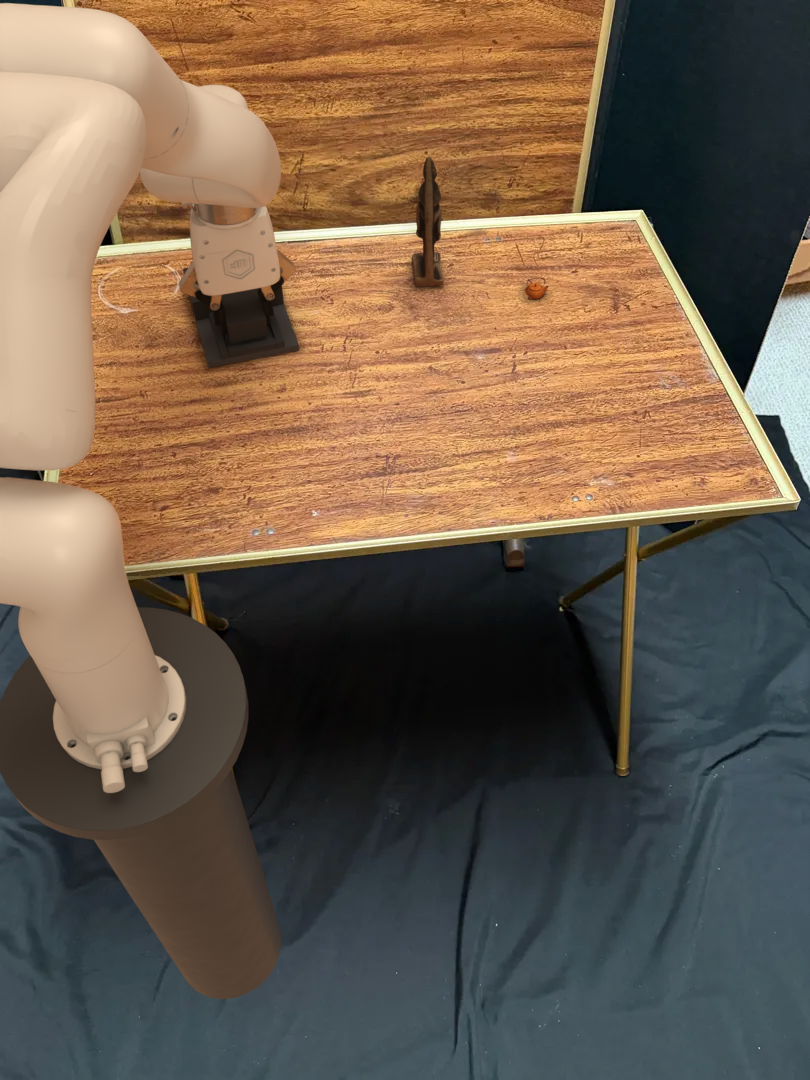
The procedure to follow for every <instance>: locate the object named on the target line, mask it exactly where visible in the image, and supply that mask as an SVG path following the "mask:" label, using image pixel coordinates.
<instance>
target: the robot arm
mask: <svg viewBox="0 0 810 1080" xmlns="http://www.w3.org/2000/svg"><path fill="white" fill-rule="evenodd" d="M281 164H282V163H281V157H280V152H279V149H278V147H277V143H276V141H275V139H274V137H273V135H272V133H271V132H270V130H269V128H268V127H267V125H266V124H265V122H264V121H263V120H262V119H261V118H260V117H259V116H258V115H257V114H256V113H255V112H253V111H251V110H250V109H249V106H248V102H247V100H246V99H245V97H244V96H243V95H242V94H241V93H240V92H239V91H238V90H236V89H234V88H233V87H230V86H228V85H222V84H206V85H199V86H198V85H196V84H192V83H190V82H187V81H184V80H182V79H180V77H179V76H178V75H177V74H176V73H175V71H174V70H173V68H172V67H171V66H170V65H169V64H168V63H167V62H166V60H165V59H164V58H163V57H162V55H161V54H160V53H159V52H158V50H157V49H156V48H155V47H154V46H153V44H152V43H151V42H150V41H149V39H148V38H147V37H146V36H145V35H144V34H143V33H142V31H141V30H139V29H138V28H137V26H135V25H134V24H133V23H132V22H131V21H129V20H127V18H124V17H123V16H120V15H118V14H116V13H114V12H110V11H105V10H101V9H96V8H88V7H72V6H57V5H44V4H43V5H41V4H27V3H11V2H3V3H2V2H0V469H7V470H8V469H11V470H22V471H23V470H24V471H60V470H64V469H65V470H66V469H69V468H71V467H73V466H76V465H78V464H80V463H81V462H82V460H84V459H85V458H86V457H87V456H88V455H89V453H90V451H91V449H92V446H93V443H94V437H95V431H96V422H97V421H96V420H97V414H96V412H97V407H96V406H97V403H96V402H97V399H96V379H95V358H94V339H93V336H94V335H93V319H92V278H93V272H94V268H95V263H96V259H97V257H98V253H99V251H100V248H101V245H102V243H103V240H104V238H105V236H106V234H107V232H108V230H109V228H110V226H111V224H112V222H113V221H114V219H115V217H116V215H117V213H118V211H119V209H120V208H121V207H122V205H123V203H124V201H125V199H126V198H127V196H128V195H129V193H130V191H131V190H132V188H133V187H134V185H135V183H136V181H137V179H138V177H139V176H140V180H141V182H142V185H143V187H144V188H145V190H146V191H147V192H148V193H149V194H150V195H151V196H153V197H155V198H156V199H159V200H163V201H166V202H170V203H171V202H172V203H180V205H181V209H182V210H186V209H188V210H190V215H189V240H190V248H191V249H190V250H191V257H192V261H191V263H190V264H189V266H188V267H187V268H188V269H187V271H186V272H185V274H184V273H183V275H182V276H181V278H180V280H179V282H178V287H179V290H180V292H181V293H182V294H185V295H187V296H188V295H190V296H192V297H193V296H194V297H196V299H198V300H199V301H201V302H203V303H205V304H207V305H208V306H210V308H211V309H212V313H213V318H214V323H215V326H219V325H220V326H221V329H222V333H223V334H227V333H228V332H227V326H226V320H225V318H226V315H225V310H224V306H223V303H222V300H221V297H222V295H223V294H229V293H235V292H240V291H246V290H251V289H257V288H259V290H258V298H259V300H260V303H261V306H262V309H263V311H264V314H265V316H266V321H267V326H271V325H270V316H272V315H274V312H273V303H272V299H274V296H275V295H274V294H275V293H276V292H277V290H278V289H279V288H280V287H281V286H282V287H283V285H284V284H285V281H287V280H288V279H289V278H290V277H291V276H293V275H294V274H295V272H296V271H297V267H296V265H295V262H293V261H292V259H290V258H289V257H287V256H286V255H285V254H284V253H283V252H282V251H280V250H279V249H278V247H277V242H276V237H275V231H274V228H273V223H272V220H271V216H270V213H269V209H268V207H267V205H269V204H271V203H272V201H273V200H274V199H275V197H276V196H277V194H278V191H279V188H280V185H281V178H282V165H281ZM196 280H197V282H198V285H196V284H195V282H196ZM122 530H123V529H122V523H121V521H120V517H119V514H118V511H117V510H116V509H115V507H114V505H113V504H112V503H111V502H110V501H109V500H108V499H106V497H104V496H102V495H101V494H99V493H97V492H95V491H93V490H90V489H88V488H84V487H81V486H78V485H73V484H68V483H63V482H55V481H47V480H39V479H29V478H20V477H11V476H10V477H9V476H5V477H3V476H2V477H1V476H0V605H1V604H2V605H10V606H16V607H19V612H18V617H17V618H18V619H17V623H18V625H17V626H18V632H19V635H20V638H21V641H22V643H23V645H24V647H25V648H26V651H27V652H28V654H29V656H30V655H31V657H32V658H33V660H34V662H35V664H36V665H37V667H38V669H39V671H40V672H41V674H42V676H43V678H44V679H45V681H46V683H47V685H48V687H49V688H50V690H51V692H52V694H53V695H54V697H55V699H56V702H55V705H54V712H53V724H54V730H55V733H56V736H57V739H58V740H59V742H60V744H61V745H62V747H63V748H64V750H65V751H66V752H67V753H68V754H69V755H70V756H71V757H72V758H74V759H75V760H76V761H78V762H79V763H82V764H84V765H86V766H88V767H92V768H96V769H101V770H102V771H101V778H102V785H103V790H104V792H106V793H115V792H119V791H121V790H122V789H124V788H125V782H124V775H123V769H124V768H129V767H132V769H133V771H134V772H142V771H145V770H146V769H147V768H148V764H147V760H149V759H151V758H152V757H154V756H155V755H156V754H158V753H159V752H161V751H162V750H163V749H164V748H165V747H166V746H167V745H168V744H169V743H170V742H171V741H172V739H173V738H174V736H175V735H176V734H177V732H178V731H179V728H180V726H181V724H182V722H183V719H184V715H185V711H186V694H185V689H184V686H183V684H182V681H181V678H180V677H179V675H178V673H177V672H176V670H175V669H174V668H173V667H172V666H171V665H170V664H169V663H168V662H166V661H165V660H163V659H162V658H160V657H158V656H156V655H154V652H153V649H152V646H151V644H150V641H149V638H148V636H147V633H146V630H145V628H144V625H143V622H142V619H141V617H140V614H139V611H138V609H137V607H138V606H137V603H136V601H135V598H134V595H133V592H132V590H131V587H130V583H129V579H128V575H127V570H126V564H125V553H124V541H123V539H124V538H123V531H122ZM164 672H166V673H164ZM174 719H176V720H174ZM172 720H174V721H172ZM73 746H75V747H73ZM72 747H73V748H72ZM127 758H130V759H128V760H126V759H127Z"/></svg>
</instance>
